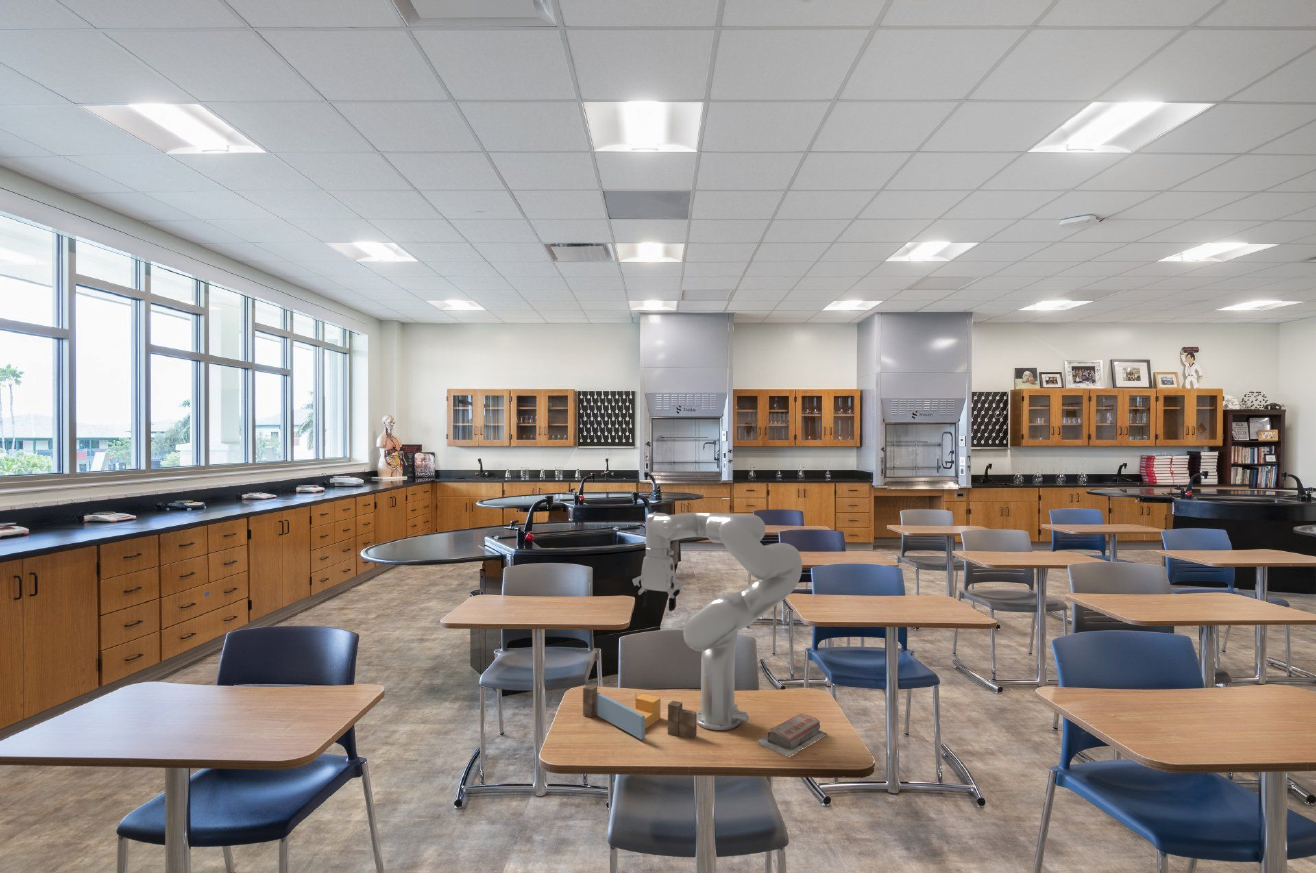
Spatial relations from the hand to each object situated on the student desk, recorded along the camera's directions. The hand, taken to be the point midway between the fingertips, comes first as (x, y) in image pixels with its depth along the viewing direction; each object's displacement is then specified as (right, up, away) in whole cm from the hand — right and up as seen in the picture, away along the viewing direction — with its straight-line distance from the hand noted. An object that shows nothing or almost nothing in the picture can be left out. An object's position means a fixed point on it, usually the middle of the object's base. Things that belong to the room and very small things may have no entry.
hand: (657, 608), depth 196 cm
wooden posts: (-6, -28, -18) cm, 34 cm away
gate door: (-11, -27, -20) cm, 35 cm away
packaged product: (+36, -29, -27) cm, 53 cm away
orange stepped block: (-5, -28, -16) cm, 33 cm away
